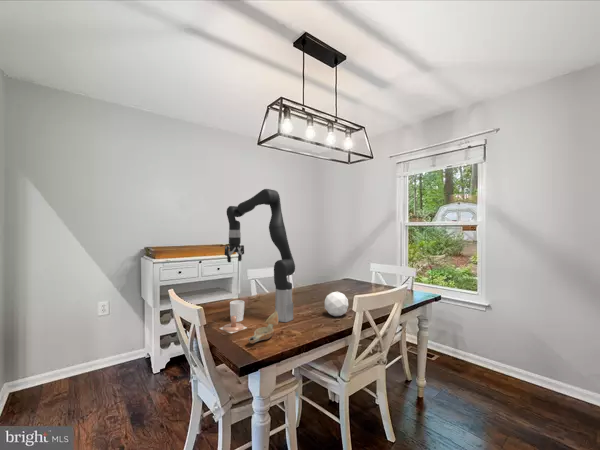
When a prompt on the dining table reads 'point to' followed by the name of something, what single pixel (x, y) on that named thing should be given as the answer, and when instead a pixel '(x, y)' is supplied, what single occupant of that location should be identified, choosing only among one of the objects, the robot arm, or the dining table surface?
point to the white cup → (237, 309)
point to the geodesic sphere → (336, 303)
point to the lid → (233, 325)
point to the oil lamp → (265, 329)
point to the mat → (233, 332)
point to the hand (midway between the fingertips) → (234, 261)
